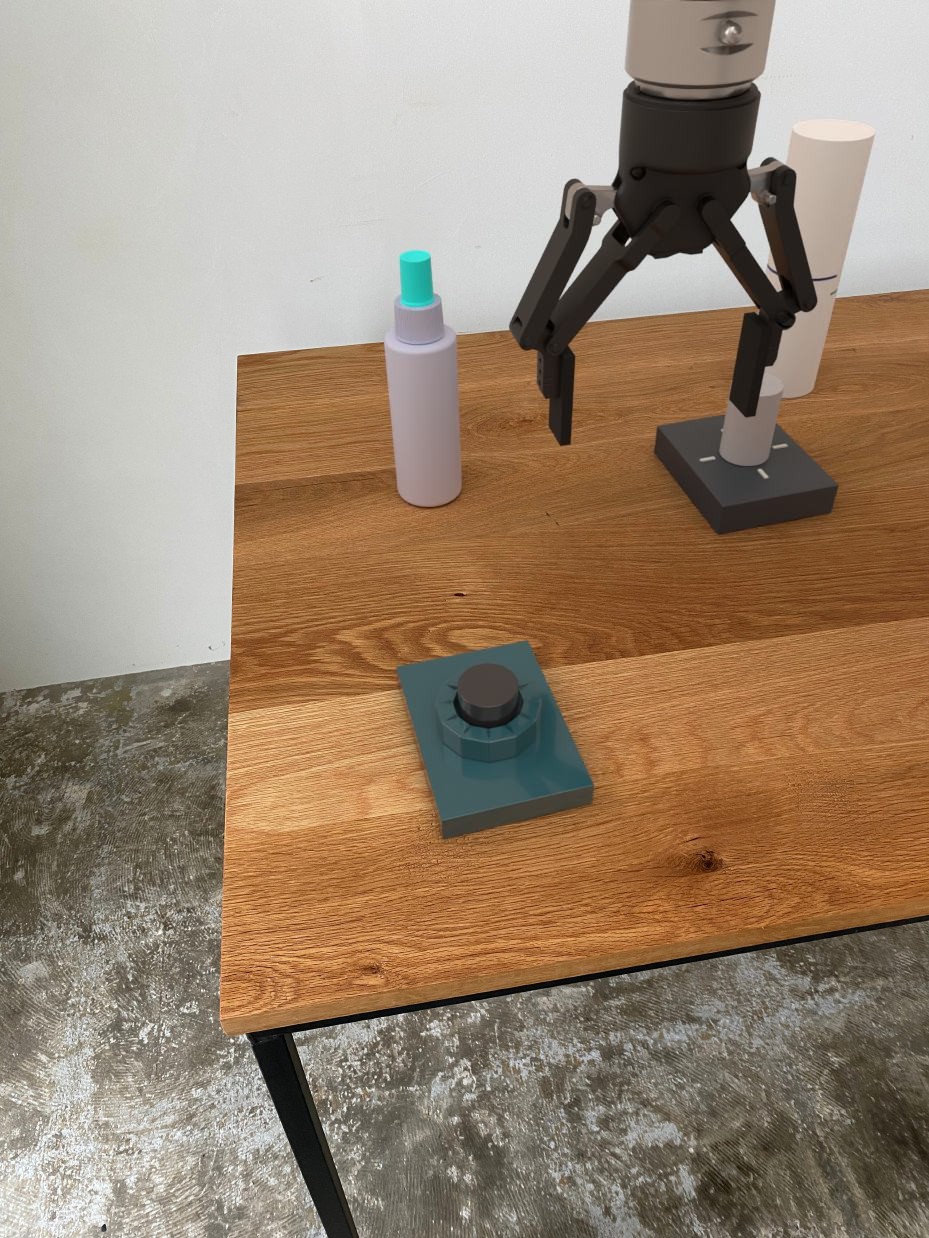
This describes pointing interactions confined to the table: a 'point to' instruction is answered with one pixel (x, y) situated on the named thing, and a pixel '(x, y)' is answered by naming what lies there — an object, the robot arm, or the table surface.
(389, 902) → the table surface
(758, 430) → the tap dial
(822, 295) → the cylindrical container
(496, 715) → the dark grey round knob
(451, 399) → the spray bottle
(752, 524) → the dial base
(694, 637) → the table surface
